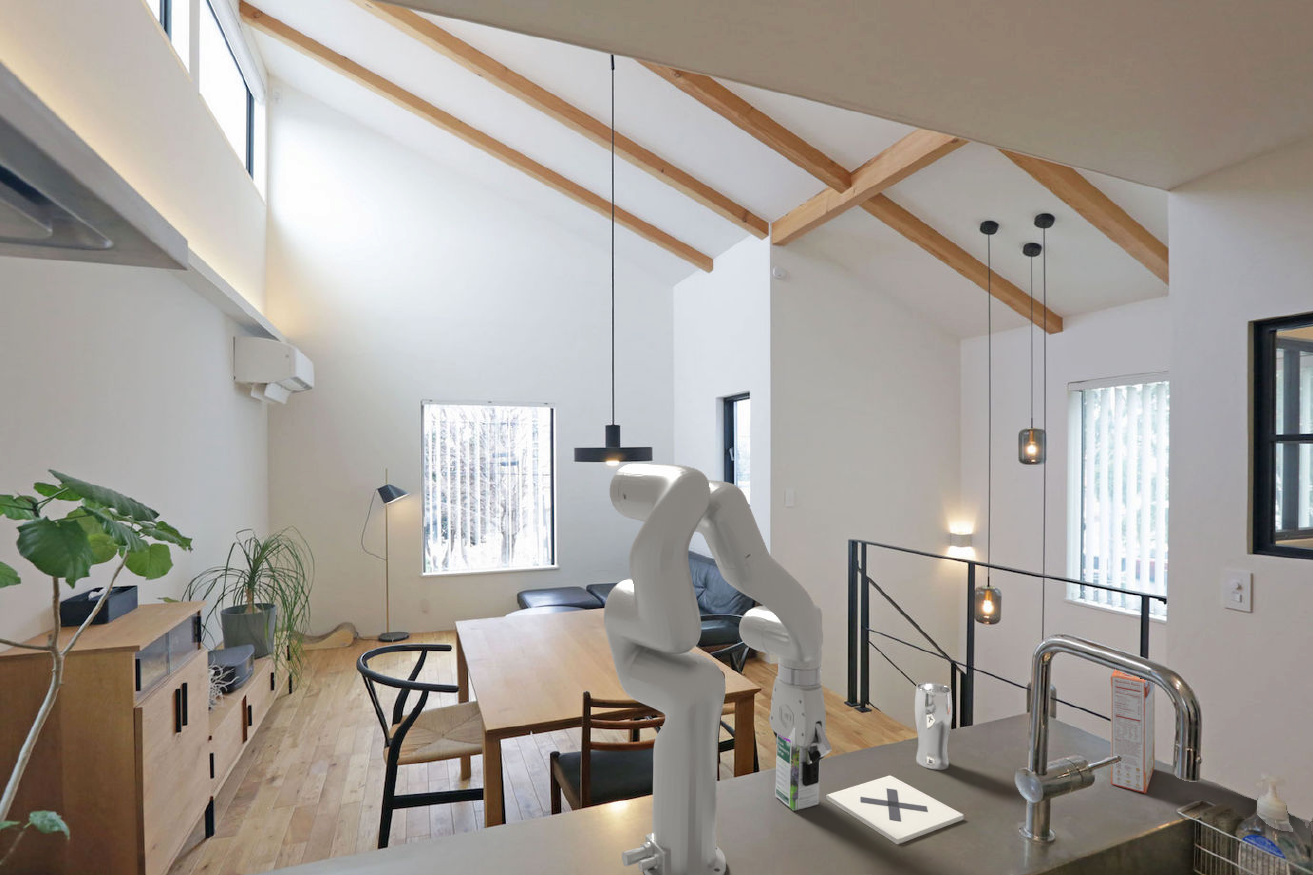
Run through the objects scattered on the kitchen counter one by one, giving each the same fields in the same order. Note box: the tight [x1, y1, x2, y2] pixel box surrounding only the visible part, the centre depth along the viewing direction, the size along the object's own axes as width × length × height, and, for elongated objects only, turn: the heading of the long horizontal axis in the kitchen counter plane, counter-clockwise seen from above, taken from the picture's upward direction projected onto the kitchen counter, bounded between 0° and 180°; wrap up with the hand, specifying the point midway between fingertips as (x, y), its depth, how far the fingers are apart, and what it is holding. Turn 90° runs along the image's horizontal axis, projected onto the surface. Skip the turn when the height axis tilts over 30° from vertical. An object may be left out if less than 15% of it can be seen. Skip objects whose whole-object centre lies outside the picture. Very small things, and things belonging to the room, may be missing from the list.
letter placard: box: [826, 774, 964, 845], centre depth 124 cm, size 16×16×1 cm
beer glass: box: [914, 681, 953, 771], centre depth 142 cm, size 7×7×15 cm
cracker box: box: [1110, 669, 1156, 794], centre depth 138 cm, size 14×6×21 cm, turn 139°
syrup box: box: [774, 726, 821, 812], centre depth 126 cm, size 6×6×14 cm
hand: (797, 774), depth 126 cm, fingers closed on syrup box, 5 cm apart
